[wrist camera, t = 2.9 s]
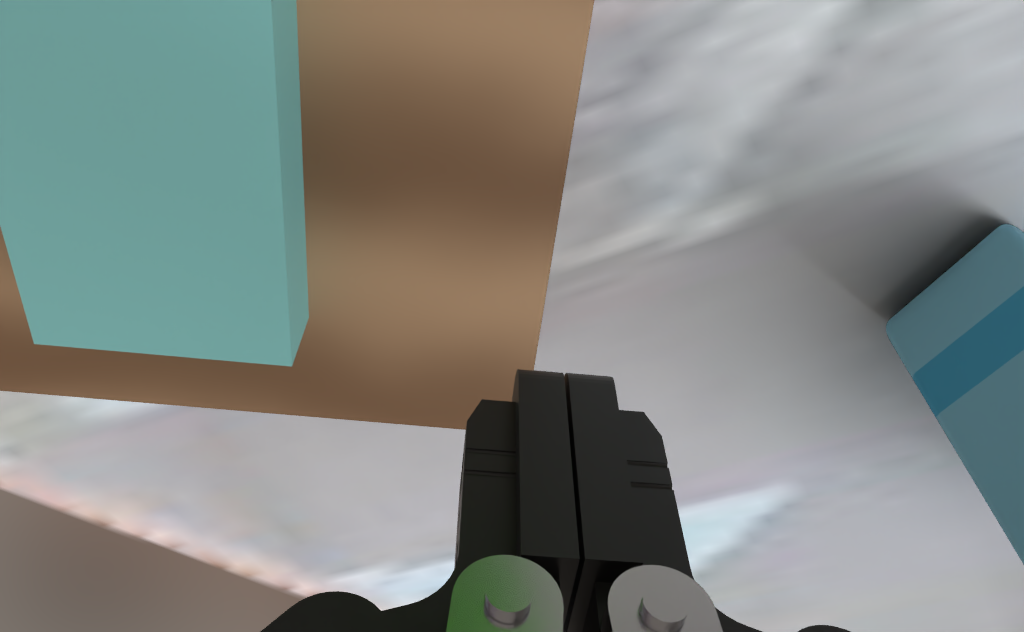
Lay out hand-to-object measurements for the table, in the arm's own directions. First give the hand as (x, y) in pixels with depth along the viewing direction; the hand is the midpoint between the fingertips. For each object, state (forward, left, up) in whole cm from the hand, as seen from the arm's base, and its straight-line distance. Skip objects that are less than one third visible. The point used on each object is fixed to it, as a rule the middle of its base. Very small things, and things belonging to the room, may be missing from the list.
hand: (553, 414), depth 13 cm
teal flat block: (0, -8, -8) cm, 11 cm away
